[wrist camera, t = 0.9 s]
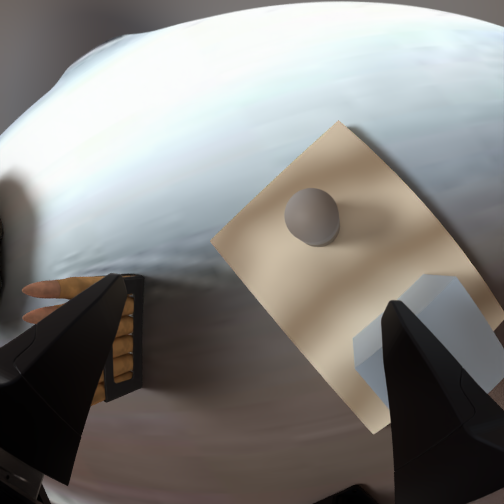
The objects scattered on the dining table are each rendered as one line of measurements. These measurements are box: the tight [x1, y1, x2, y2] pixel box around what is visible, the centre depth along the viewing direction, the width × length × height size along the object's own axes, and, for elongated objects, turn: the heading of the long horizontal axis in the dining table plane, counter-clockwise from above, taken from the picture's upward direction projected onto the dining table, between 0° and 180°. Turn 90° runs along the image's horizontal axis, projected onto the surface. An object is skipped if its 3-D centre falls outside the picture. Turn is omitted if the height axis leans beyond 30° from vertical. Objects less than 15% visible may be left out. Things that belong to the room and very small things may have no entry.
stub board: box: [210, 120, 504, 434], centre depth 18 cm, size 19×13×5 cm
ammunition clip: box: [22, 274, 144, 406], centre depth 20 cm, size 11×2×12 cm, turn 175°
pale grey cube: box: [353, 274, 504, 409], centre depth 15 cm, size 6×6×6 cm
